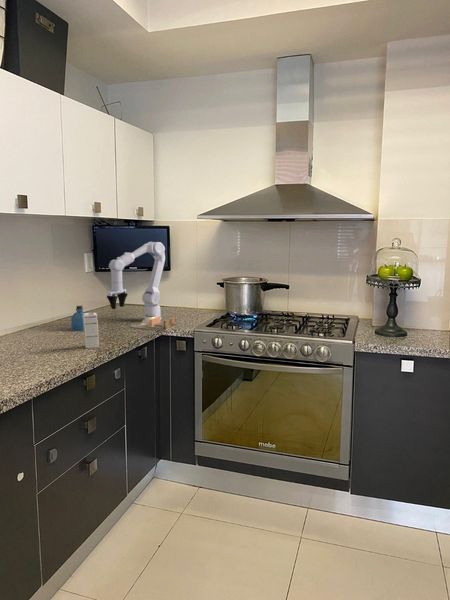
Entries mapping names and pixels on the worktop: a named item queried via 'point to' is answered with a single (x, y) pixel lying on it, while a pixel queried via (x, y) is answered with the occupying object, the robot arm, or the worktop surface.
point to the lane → (167, 325)
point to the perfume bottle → (78, 319)
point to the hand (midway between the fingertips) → (117, 307)
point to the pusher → (156, 322)
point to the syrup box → (90, 330)
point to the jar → (148, 317)
